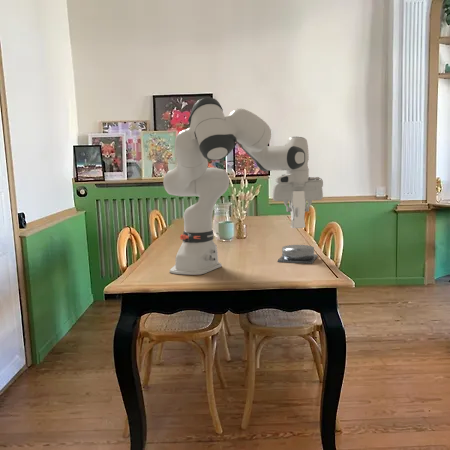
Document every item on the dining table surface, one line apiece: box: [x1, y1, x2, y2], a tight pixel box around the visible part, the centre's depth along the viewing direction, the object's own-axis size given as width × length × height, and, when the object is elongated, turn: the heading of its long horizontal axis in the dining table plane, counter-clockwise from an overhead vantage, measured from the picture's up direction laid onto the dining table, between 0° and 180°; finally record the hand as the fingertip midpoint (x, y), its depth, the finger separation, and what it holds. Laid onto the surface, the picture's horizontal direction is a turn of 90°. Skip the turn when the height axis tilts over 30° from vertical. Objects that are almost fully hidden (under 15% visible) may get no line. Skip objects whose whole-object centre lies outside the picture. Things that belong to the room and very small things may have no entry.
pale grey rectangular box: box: [288, 191, 307, 229], centre depth 199 cm, size 7×7×15 cm
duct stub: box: [277, 244, 319, 265], centre depth 201 cm, size 14×14×5 cm
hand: (297, 211), depth 199 cm, fingers closed on pale grey rectangular box, 6 cm apart
